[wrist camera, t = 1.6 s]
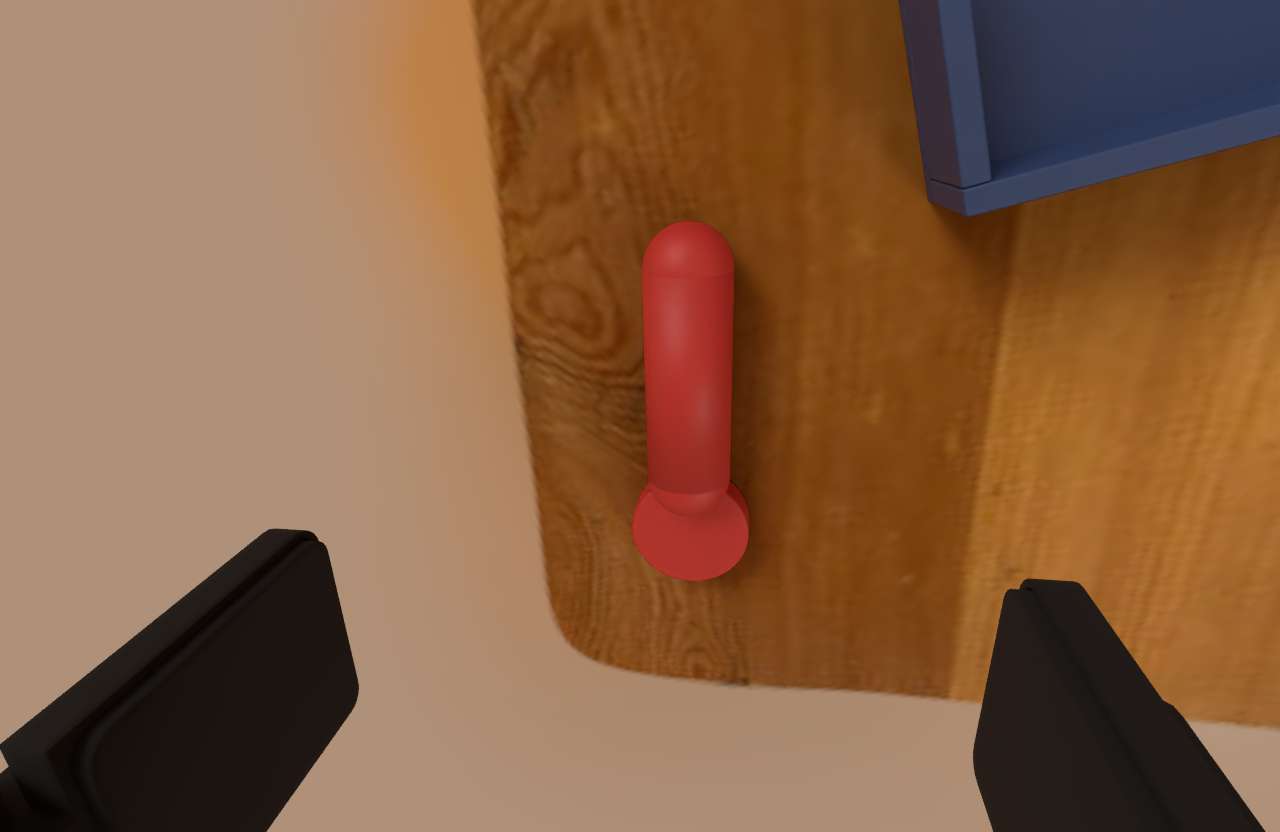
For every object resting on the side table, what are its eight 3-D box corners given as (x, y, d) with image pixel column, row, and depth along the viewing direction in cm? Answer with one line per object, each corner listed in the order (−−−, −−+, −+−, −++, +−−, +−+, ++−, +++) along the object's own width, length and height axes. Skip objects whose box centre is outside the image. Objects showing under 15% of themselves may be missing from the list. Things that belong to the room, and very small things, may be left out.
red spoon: (626, 216, 19) (608, 228, 17) (759, 214, 18) (759, 226, 16) (638, 559, 23) (625, 605, 21) (747, 567, 23) (746, 614, 20)
